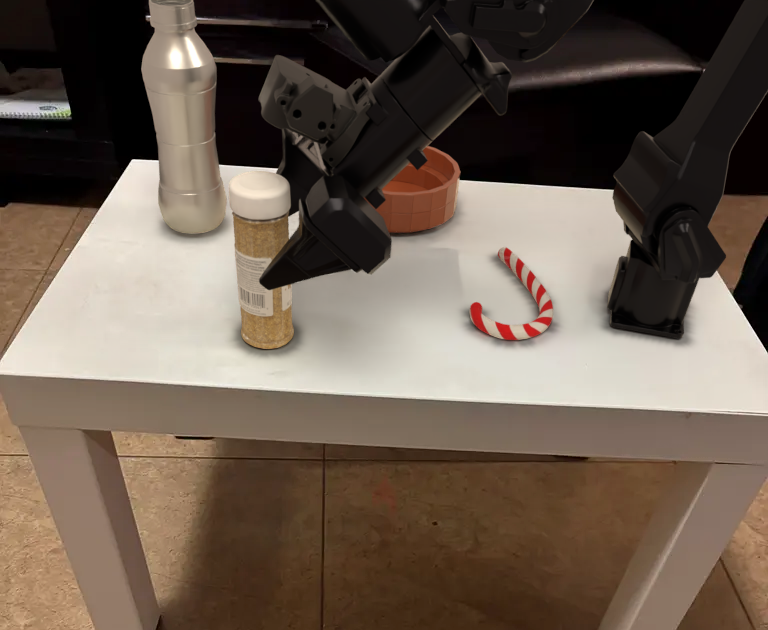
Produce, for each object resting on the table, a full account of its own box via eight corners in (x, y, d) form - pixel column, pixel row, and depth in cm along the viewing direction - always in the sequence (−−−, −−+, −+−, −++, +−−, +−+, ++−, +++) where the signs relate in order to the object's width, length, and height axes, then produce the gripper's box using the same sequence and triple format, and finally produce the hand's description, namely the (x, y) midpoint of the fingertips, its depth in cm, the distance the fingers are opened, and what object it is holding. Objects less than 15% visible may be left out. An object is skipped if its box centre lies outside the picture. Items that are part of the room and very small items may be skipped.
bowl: (463, 191, 92) (469, 150, 89) (442, 246, 83) (447, 203, 80) (349, 172, 94) (351, 132, 90) (316, 225, 85) (316, 182, 81)
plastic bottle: (148, 224, 83) (113, -3, 68) (202, 204, 86) (179, -16, 72) (188, 249, 80) (161, 17, 65) (242, 227, 83) (227, 2, 69)
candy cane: (537, 245, 82) (563, 331, 71) (534, 258, 83) (560, 344, 72) (459, 242, 81) (474, 328, 71) (457, 255, 82) (472, 341, 72)
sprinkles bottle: (304, 337, 71) (302, 184, 61) (262, 357, 68) (253, 201, 59) (271, 314, 73) (263, 163, 63) (229, 333, 70) (215, 178, 61)
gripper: (312, -22, 60) (175, 133, 66) (351, 67, 48) (177, 249, 54) (407, 92, 67) (276, 223, 73) (464, 196, 55) (299, 344, 61)
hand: (258, 254), depth 65 cm, fingers open, 9 cm apart
